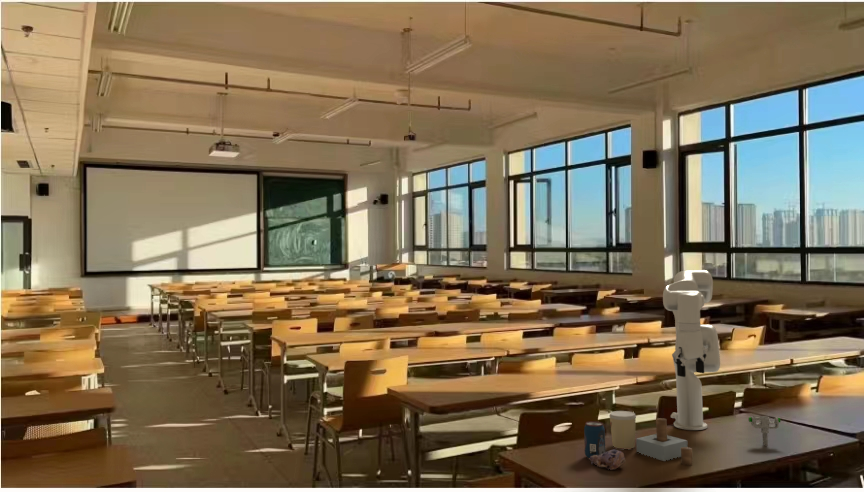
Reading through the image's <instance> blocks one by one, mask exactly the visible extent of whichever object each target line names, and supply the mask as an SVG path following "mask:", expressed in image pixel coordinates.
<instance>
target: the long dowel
mask: <svg viewBox="0 0 864 492" xmlns="http://www.w3.org/2000/svg"><path fill="white" fill-rule="evenodd" d="M655 424H656V425H655V427H656V429H655V430H656V432H655V434H657V441H660V442H665V441H667V435H668V428H667V427H668V425H667V424H668V423H667V418H663V417H662V418H661V417H660V418H659V417H657V418H655Z"/></svg>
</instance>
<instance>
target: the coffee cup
mask: <svg viewBox="0 0 864 492" xmlns="http://www.w3.org/2000/svg"><path fill="white" fill-rule="evenodd" d="M636 418H637V415H636V413H635V412H634V411H633V412H632V411H628V410H616V411H611V412H610V413H609V421H610V423H609V424H610V433H611V434H610V435H611V441H612V447H613V446H614V447H617V448H624V449H626V448H633V447H634V448H635V446H636V444H635V443H636V423H637V422H636ZM614 447H613V448H614ZM617 448H616V449H617ZM634 448H633V449H634ZM624 449H623V450H624Z"/></svg>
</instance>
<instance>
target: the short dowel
mask: <svg viewBox="0 0 864 492" xmlns="http://www.w3.org/2000/svg"><path fill="white" fill-rule="evenodd" d="M680 458H681V459H680V461H681V465H683V464H684V465H683V466H692V464H694V463H693V462H694V461H693V448H692V447H689V446H688V447H682V448H681V457H680Z"/></svg>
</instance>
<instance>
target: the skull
mask: <svg viewBox="0 0 864 492" xmlns="http://www.w3.org/2000/svg"><path fill="white" fill-rule="evenodd" d="M589 460H590V462H591V464H595V465H598V466H599V468H606V469H607V470H609V469H610V471H613V470H617V468H619V467H622V465H623V464H624V463H625V462H626V458H625V454H624V452H622V451H621V450H618V449H611V450H608V451H607V450H606V451H605V453H603V454H601V455H593V456H590V459H589ZM595 465H594V466H595ZM598 466H597V467H598Z"/></svg>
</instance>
